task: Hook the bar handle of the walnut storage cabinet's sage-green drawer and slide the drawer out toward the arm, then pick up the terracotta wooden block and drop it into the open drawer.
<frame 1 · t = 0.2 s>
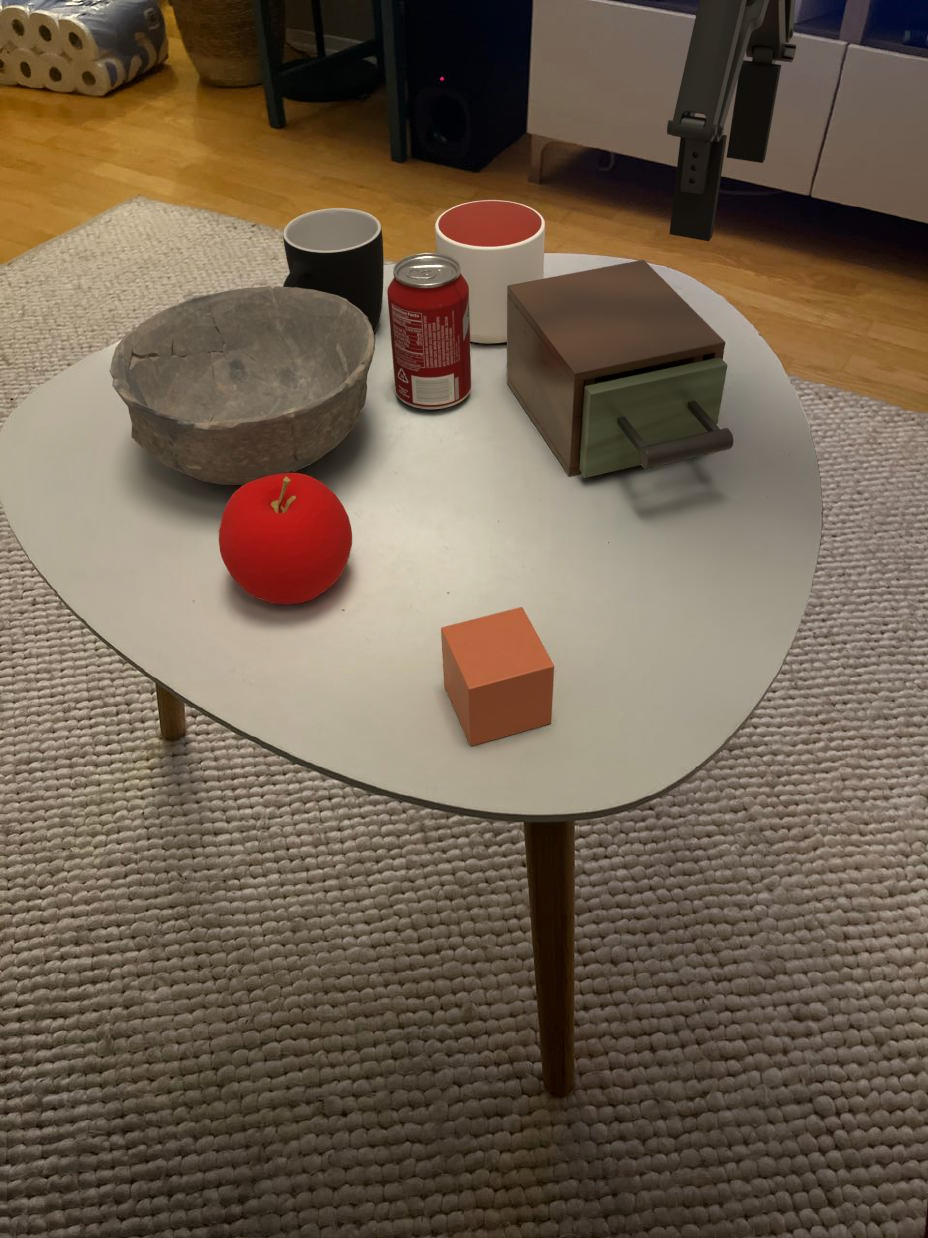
hand: (719, 195, 75), 21 cm above the table, tool pointing down, fingers open, 13 cm apart
soda can: (433, 396, 95), on the table
cup: (490, 324, 104), on the table
bowl: (263, 452, 90), on the table
cabinet: (603, 412, 93), on the table
drawer: (633, 396, 86), point 5 cm above the table, slide at 0.5 cm
fruit: (294, 584, 78), on the table
block: (496, 704, 69), on the table
mug: (334, 338, 103), on the table
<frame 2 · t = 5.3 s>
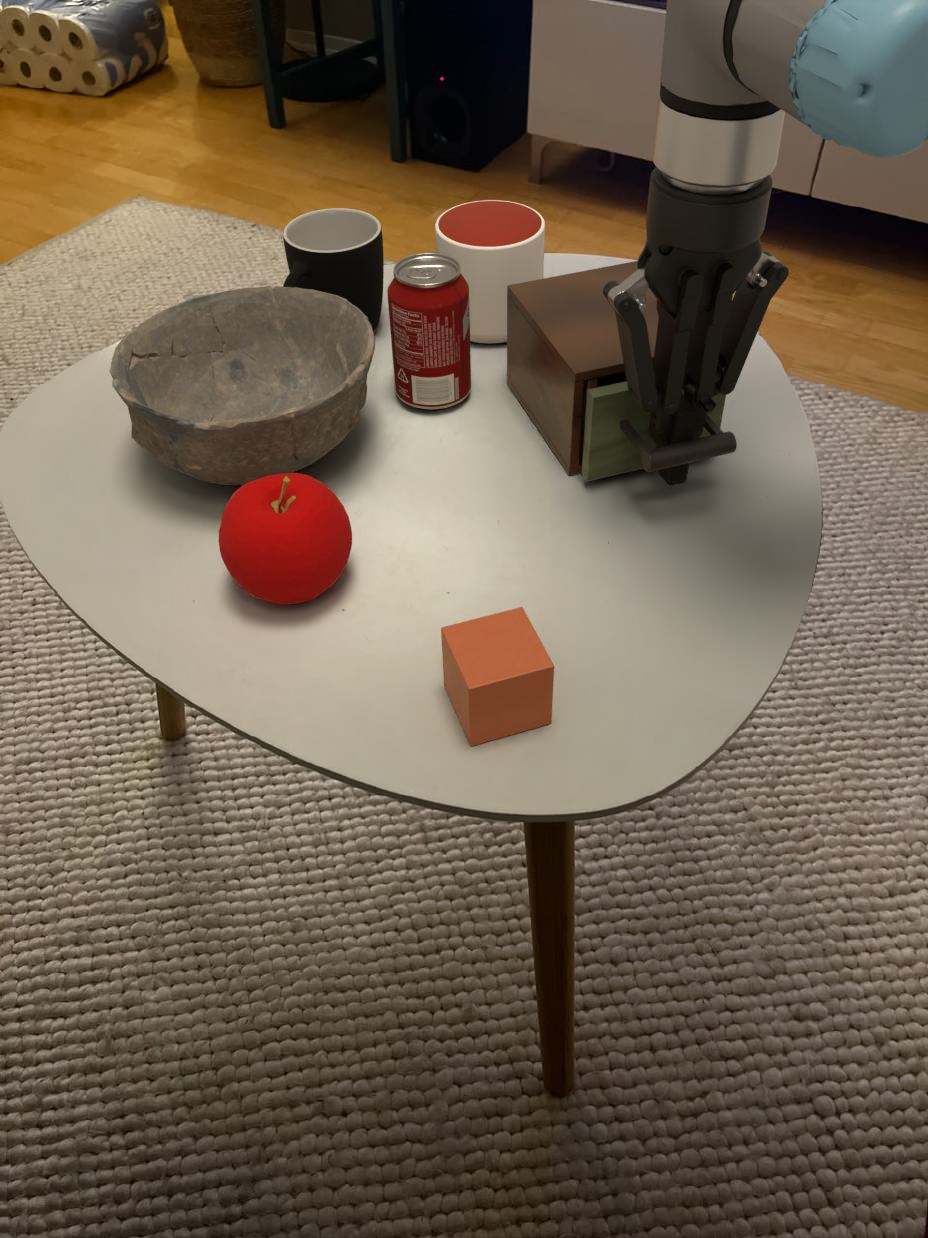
hand: (669, 473, 83), 2 cm above the table, tool pointing down, fingers closed
drawer: (636, 399, 85), point 5 cm above the table, slide at 1.0 cm
everything else where it was.
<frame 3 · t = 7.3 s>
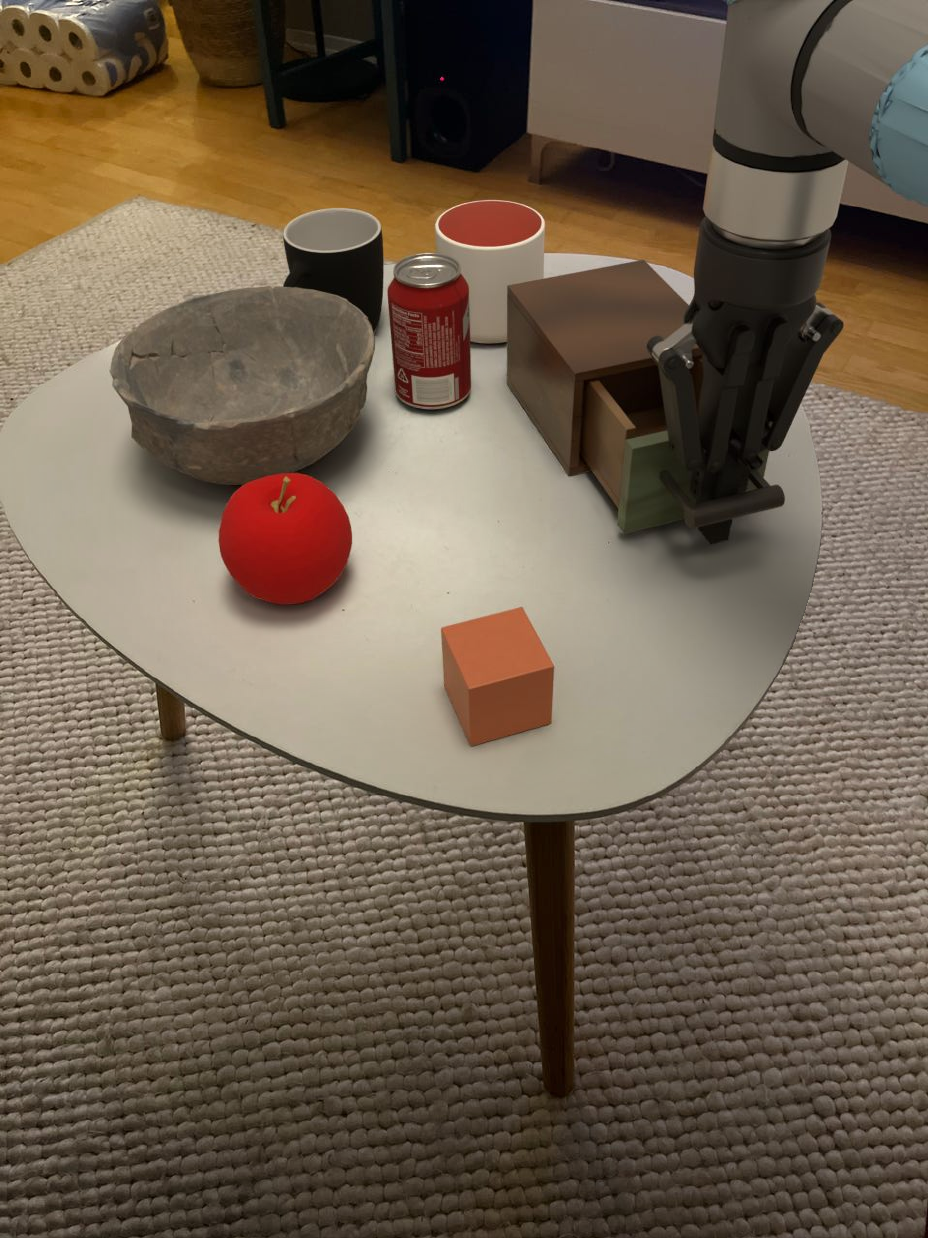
hand: (710, 530, 79), 2 cm above the table, tool pointing down, fingers closed
drawer: (675, 446, 81), point 5 cm above the table, slide at 7.8 cm, touching gripper
everything else where it was.
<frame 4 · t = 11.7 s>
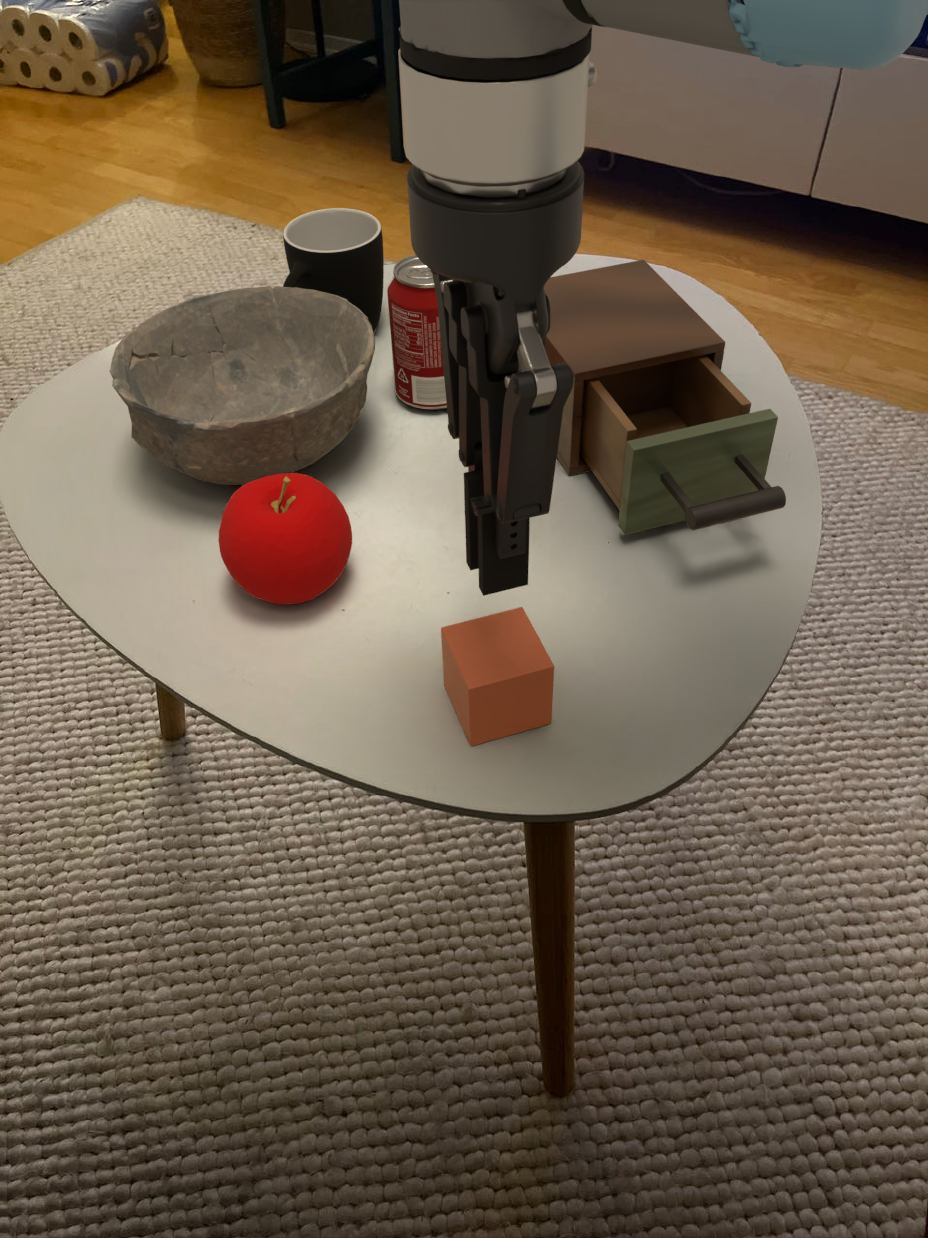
hand: (496, 572, 61), 12 cm above the table, tool pointing down, fingers closed
drawer: (676, 448, 81), point 5 cm above the table, slide at 8.0 cm
everything else where it was.
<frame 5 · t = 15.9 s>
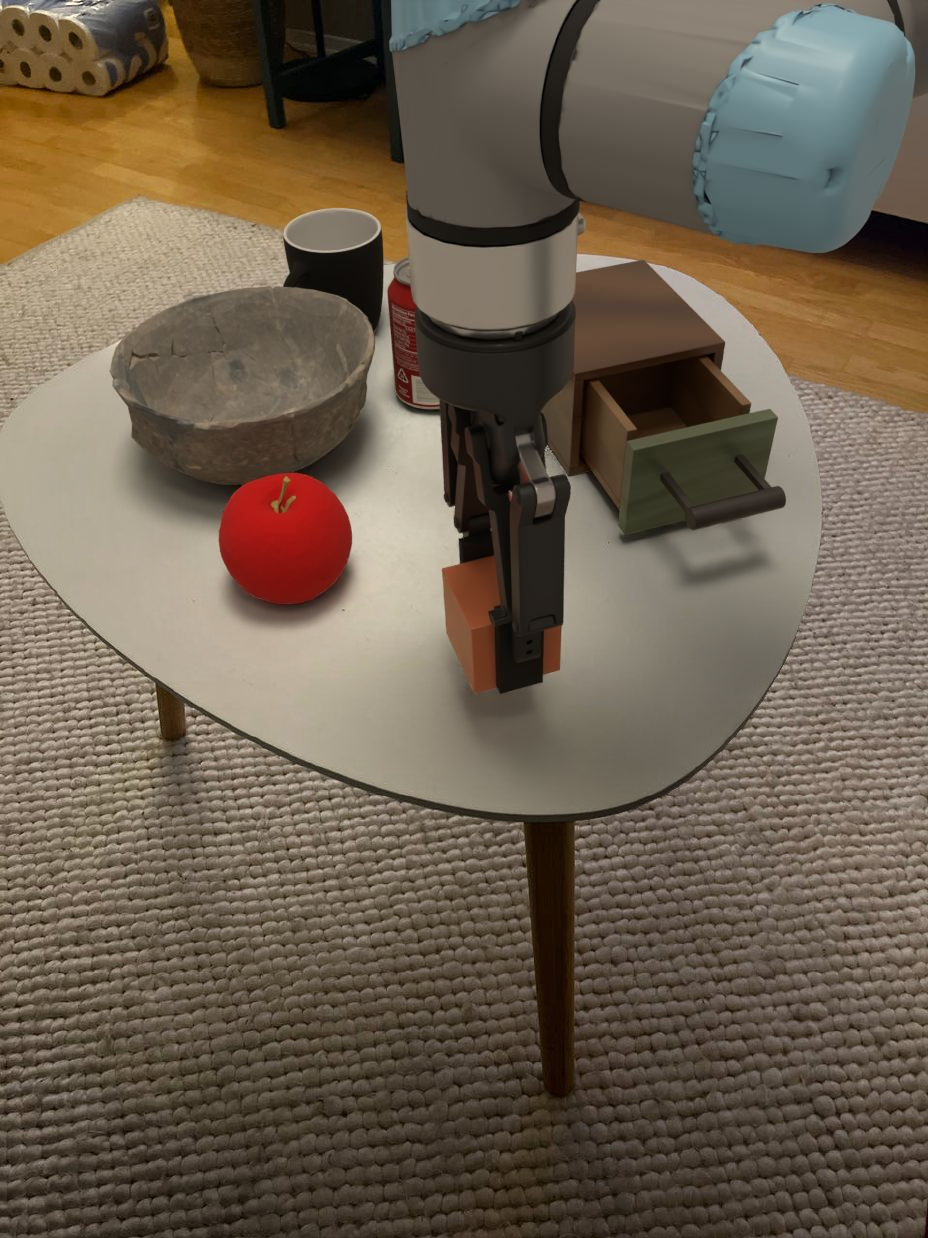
hand: (501, 648, 65), 6 cm above the table, tool pointing down, fingers closed on block, 5 cm apart
block: (502, 651, 66), point 5 cm above the table, touching gripper
everything else where it was.
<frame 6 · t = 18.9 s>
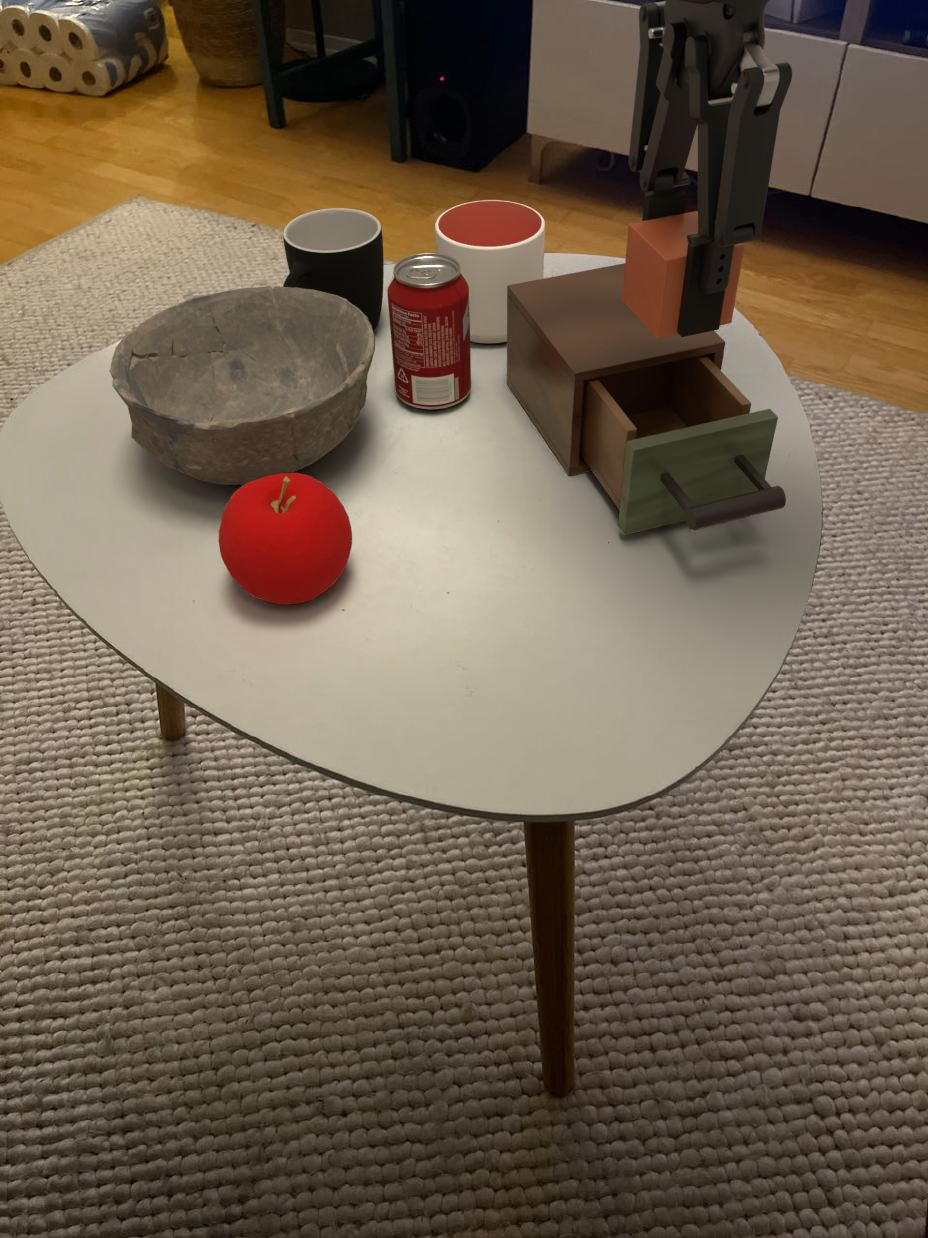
hand: (676, 307, 72), 17 cm above the table, tool pointing down, fingers closed on block, 5 cm apart
block: (675, 311, 72), point 16 cm above the table, touching gripper
everything else where it was.
when the fingers open (6 cm above the table, at t = 21.9 s): block drops 4 cm, resting on drawer.
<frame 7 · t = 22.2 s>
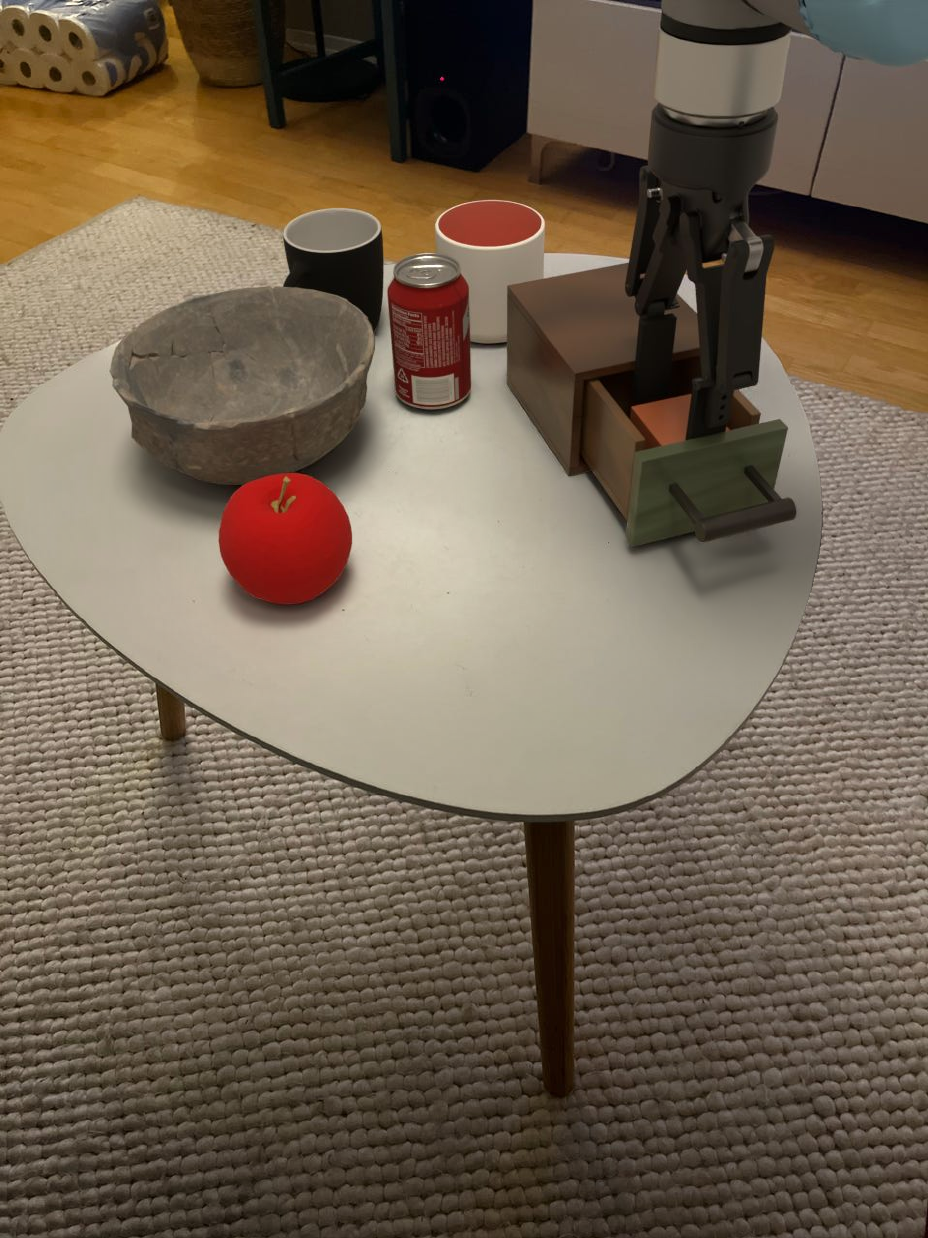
hand: (675, 424, 80), 7 cm above the table, tool pointing down, fingers open, 8 cm apart
drawer: (684, 458, 80), point 5 cm above the table, slide at 9.4 cm, touching block
block: (672, 478, 83), point 2 cm above the table, touching drawer
everything else where it was.
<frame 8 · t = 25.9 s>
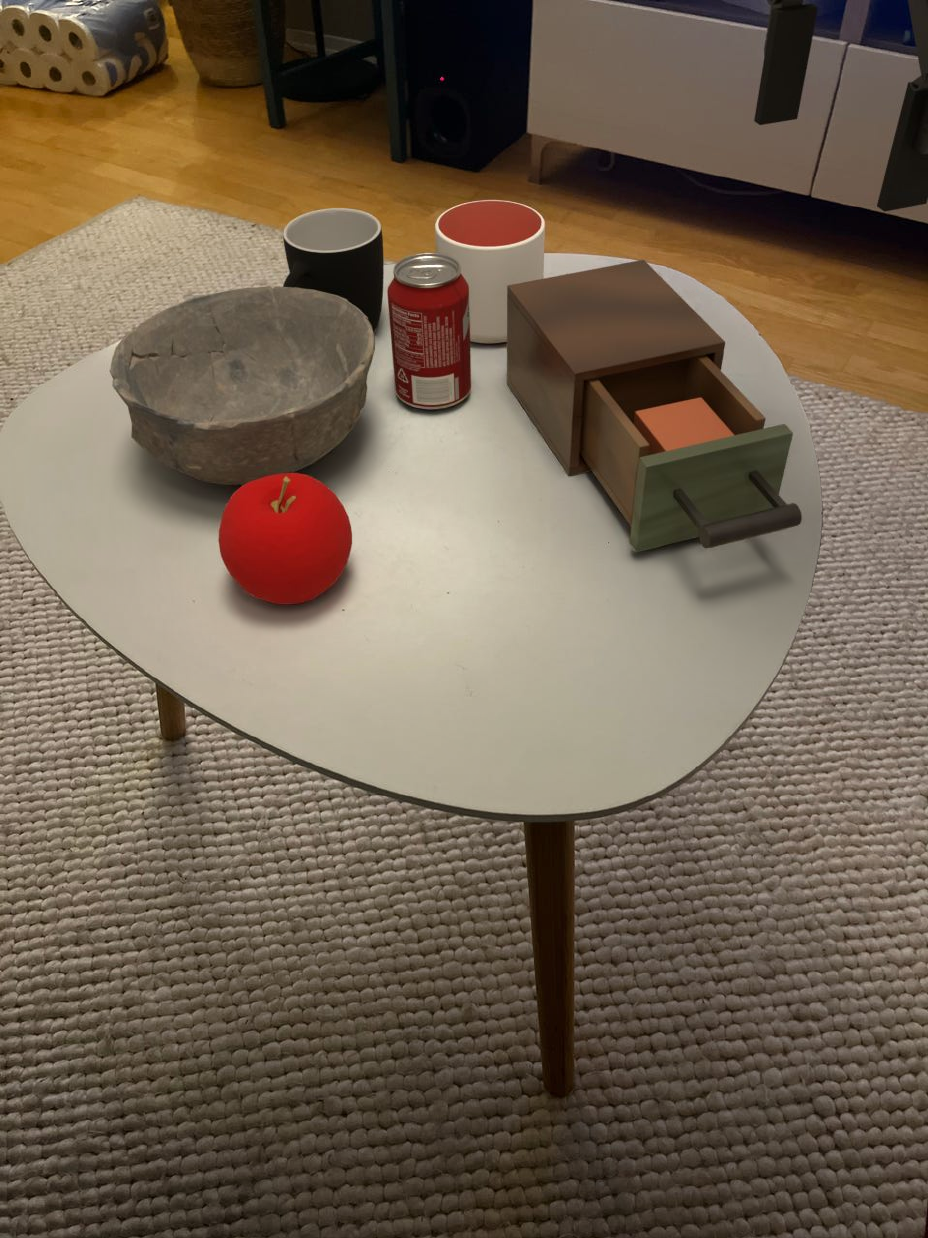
hand: (833, 160, 64), 27 cm above the table, tool pointing down, fingers open, 13 cm apart
drawer: (688, 463, 79), point 5 cm above the table, slide at 10.0 cm, touching block
everything else where it was.
at the end: drawer slide at 10.0 cm; block inside the target area in the drawer (4.1 cm from its centre), point 2.0 cm above the cabinet's base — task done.
